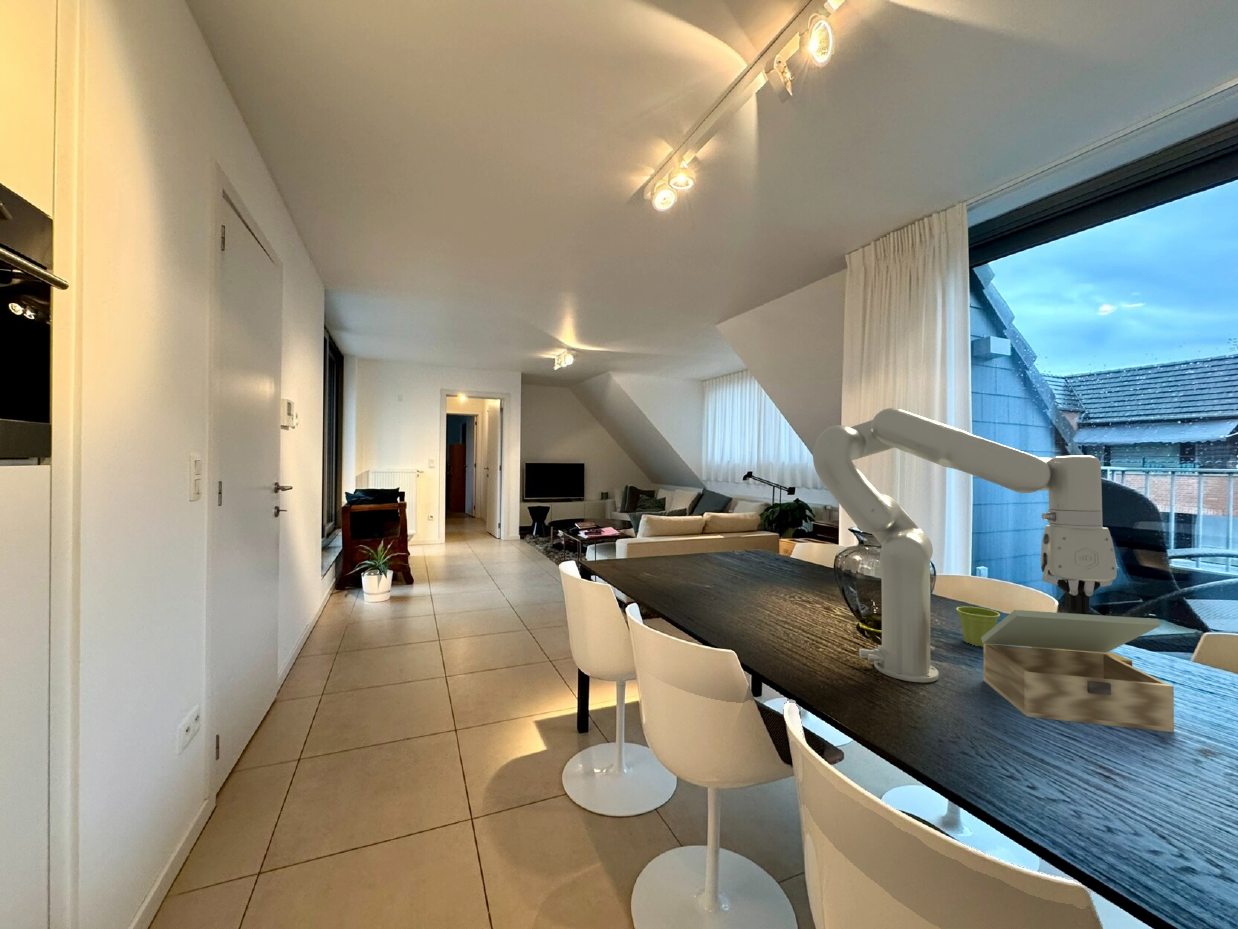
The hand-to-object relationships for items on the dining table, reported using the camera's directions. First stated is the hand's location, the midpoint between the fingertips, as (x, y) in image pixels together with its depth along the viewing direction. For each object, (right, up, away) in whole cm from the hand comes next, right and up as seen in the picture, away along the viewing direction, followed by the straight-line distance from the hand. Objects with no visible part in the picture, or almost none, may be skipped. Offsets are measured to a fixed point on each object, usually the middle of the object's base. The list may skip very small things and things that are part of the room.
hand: (1077, 614), depth 93 cm
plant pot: (+7, -19, +35) cm, 41 cm away
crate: (0, -18, +2) cm, 18 cm away
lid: (+1, -5, +3) cm, 6 cm away
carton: (+18, -19, +19) cm, 33 cm away
